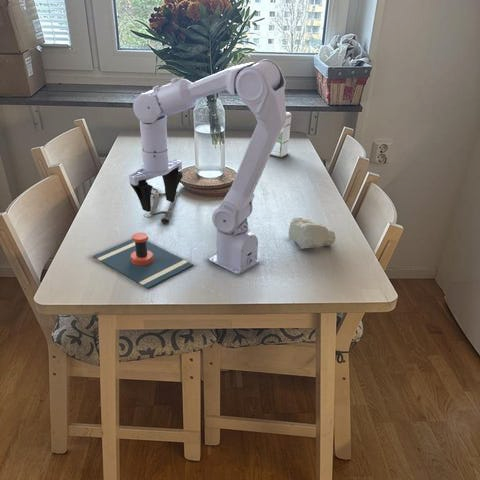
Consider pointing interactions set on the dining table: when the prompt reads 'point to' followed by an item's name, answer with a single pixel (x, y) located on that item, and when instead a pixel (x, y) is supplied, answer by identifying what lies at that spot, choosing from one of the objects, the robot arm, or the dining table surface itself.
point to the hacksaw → (168, 213)
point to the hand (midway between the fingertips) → (158, 205)
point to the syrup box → (283, 139)
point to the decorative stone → (310, 233)
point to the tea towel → (147, 274)
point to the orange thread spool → (141, 250)
